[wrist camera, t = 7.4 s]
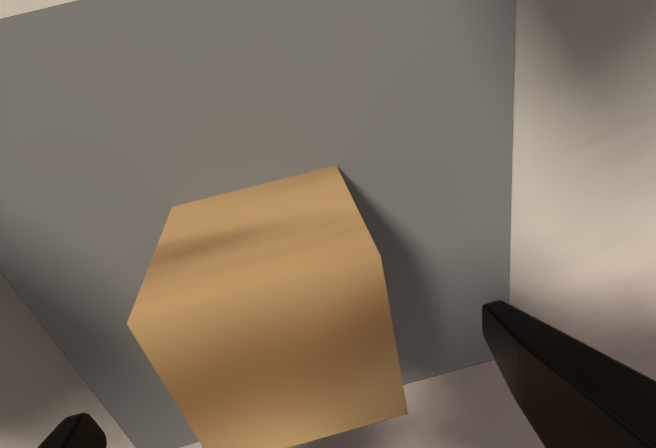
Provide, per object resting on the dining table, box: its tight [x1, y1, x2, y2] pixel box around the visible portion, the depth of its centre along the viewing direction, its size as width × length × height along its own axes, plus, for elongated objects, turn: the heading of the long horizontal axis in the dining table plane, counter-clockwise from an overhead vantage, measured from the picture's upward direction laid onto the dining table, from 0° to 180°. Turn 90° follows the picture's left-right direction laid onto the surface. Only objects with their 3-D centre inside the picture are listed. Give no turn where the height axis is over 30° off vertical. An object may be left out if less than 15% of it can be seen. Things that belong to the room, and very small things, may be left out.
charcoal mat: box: [0, 0, 516, 448], centre depth 14 cm, size 16×16×1 cm
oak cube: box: [127, 165, 408, 448], centre depth 11 cm, size 5×5×5 cm
